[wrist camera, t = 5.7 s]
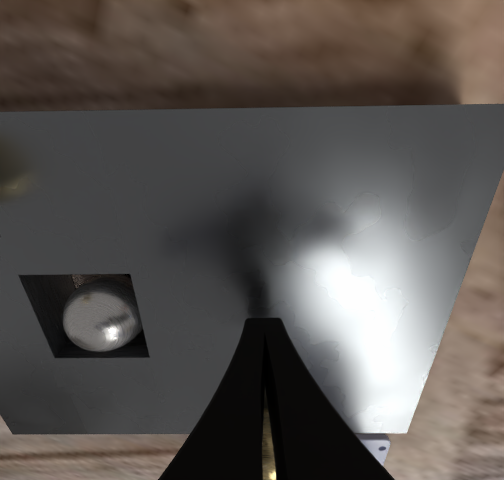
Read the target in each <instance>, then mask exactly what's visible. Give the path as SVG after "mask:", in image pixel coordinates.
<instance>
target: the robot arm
mask: <svg viewBox="0 0 504 480" xmlns="http://www.w3.org/2000/svg"><path fill="white" fill-rule="evenodd" d="M265 390H266V397H267V405H268V413H269V421H270V428H271V436H272V444H273V452H274V460H275V471H276V480H395V479H394V478H393V477H392V476H391V475H390V474H389V473H388V472H387V470H386V469H385V468H384V467H383V464H384V461H385V458H386V455H387V452H388V449H389V446H390V440H389V438H388V436H387V435H385V434H355V433H354V432H353V431H352V430H351V429H350V427H349V426H348V425H347V424H346V422H345V421H344V420H343V419H342V417H341V416H340V415H339V413H338V412H337V411H336V409H335V408H334V407H333V405H332V404H331V403H330V401H329V400H328V399H327V397H326V396H325V394H324V393H323V392H322V390H321V389H320V387H319V386H318V384H317V383H316V381H315V380H314V378H313V377H312V375H311V374H310V372H309V370H308V369H307V367H306V366H305V364H304V362H303V361H302V359H301V357H300V356H299V354H298V352H297V350H296V349H295V347H294V345H293V343H292V341H291V339H290V337H289V335H288V333H287V331H286V329H285V326H284V324H283V321H282V319H280V318H247V319H246V320H245V323H244V327H243V331H242V334H241V337H240V340H239V343H238V345H237V348H236V350H235V353H234V355H233V357H232V360H231V362H230V364H229V366H228V368H227V370H226V372H225V374H224V376H223V378H222V380H221V382H220V384H219V386H218V388H217V390H216V392H215V394H214V395H213V397H212V399H211V401H210V403H209V404H208V406H207V408H206V409H205V411H204V413H203V414H202V416H201V418H200V419H199V421H198V423H197V424H196V426H195V427H194V429H193V430H192V432H191V433H190V435H189V436H188V438H187V439H186V441H185V443H184V444H183V446H182V447H181V448H180V450H179V451H178V453H177V454H176V456H175V457H174V459H173V460H172V461H171V463H170V464H169V466H168V467H167V468H166V470H165V471H164V472H163V474H162V475H161V476H160V478H159V479H158V480H263V463H262V444H263V421H264V397H265Z"/></svg>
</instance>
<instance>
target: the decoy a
mask: <svg viewBox="0 0 504 480" xmlns="http://www.w3.org/2000/svg"><path fill="white" fill-rule="evenodd" d="M262 463H263V480H276V471H275V460H274V452H273V444H272V436H271V428H270V421H269V413H268V409H266V408H264V421H263V444H262Z"/></svg>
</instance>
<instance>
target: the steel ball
mask: <svg viewBox="0 0 504 480" xmlns="http://www.w3.org/2000/svg"><path fill="white" fill-rule="evenodd" d="M63 327H64V330H65V332H66V334H67V336H68V337H69V339H70V340H71V341H72V342H73V343H74V344H76V345H77V346H79V347H81V348H83V349H86V350H89V351H96V352H104V351H110V350H114V349H117V348H119V347H122V346H124V345H125V344H127V343H129V342H130V341H131V340H133V339H134V338H135V337H136V336H137V335H138V334H139V333H140V331H141V330H142V328H143V326H142V322H141V317H140V313H139V309H138V305H137V300H136V296H135V292H134V288H133V283H132V279H131V278H129V277H126V276H123V275H117V274H107V275H101V276H97V277H94V278H92V279H90V280H88V281H86V282H84V283H83V284H82V285H80V286H79V287H78V288H77V289H76V290H75V291H74V292H73V293H72V294H71V296H70V297H69V298H68V300H67V302H66V304H65V307H64V311H63Z"/></svg>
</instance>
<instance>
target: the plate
mask: <svg viewBox="0 0 504 480" xmlns="http://www.w3.org/2000/svg"><path fill="white" fill-rule="evenodd" d="M503 170H504V104H465V105H402V106H340V107H278V108H216V109H153V110H91V111H29V112H0V415H1V417H2V418H3V420H4V421H5V423H6V424H7V426H8V428H9V429H10V431H11V432H12V434H190V433H191V432H192V430H193V429H194V427H195V426H196V424H197V423H198V421H199V419H200V418H201V416H202V414H203V413H204V411H205V409H206V408H207V406H208V404H209V403H210V401H211V399H212V397H213V395H214V394H215V392H216V390H217V388H218V386H219V384H220V382H221V380H222V378H223V376H224V374H225V372H226V370H227V368H228V366H229V364H230V362H231V360H232V357H233V355H234V353H235V350H236V348H237V345H238V343H239V340H240V337H241V334H242V331H243V327H244V323H245V320H246V319H247V318H280V319H282V321H283V324H284V326H285V329H286V331H287V333H288V335H289V337H290V339H291V341H292V343H293V345H294V347H295V349H296V350H297V352H298V354H299V356H300V357H301V359H302V361H303V362H304V364H305V366H306V367H307V369H308V370H309V372H310V374H311V375H312V377H313V378H314V380H315V381H316V383H317V384H318V386H319V387H320V389H321V390H322V392H323V393H324V394H325V396H326V397H327V399H328V400H329V401H330V403H331V404H332V405H333V407H334V408H335V409H336V411H337V412H338V413H339V415H340V416H341V417H342V419H343V420H344V421H345V422H346V424H347V425H348V426H349V427H350V429H351V430H352V431H353V432H354V433H407V430H408V428H409V425H410V422H411V420H412V417H413V414H414V411H415V409H416V406H417V403H418V401H419V398H420V395H421V392H422V390H423V387H424V384H425V382H426V379H427V376H428V373H429V371H430V368H431V365H432V363H433V360H434V357H435V355H436V352H437V349H438V346H439V344H440V341H441V338H442V336H443V333H444V330H445V327H446V325H447V322H448V319H449V317H450V314H451V311H452V308H453V306H454V303H455V300H456V298H457V295H458V292H459V289H460V287H461V284H462V281H463V279H464V276H465V273H466V270H467V268H468V265H469V262H470V260H471V257H472V254H473V252H474V249H475V246H476V243H477V241H478V238H479V235H480V233H481V230H482V227H483V224H484V222H485V219H486V216H487V214H488V211H489V208H490V205H491V203H492V200H493V197H494V195H495V192H496V189H497V186H498V184H499V181H500V178H501V176H502V173H503ZM71 274H130V275H131V279H132V283H133V288H134V292H135V296H136V300H137V305H138V309H139V313H140V317H141V322H142V326H143V328H142V330H141V331H140V333H139V334H138V335H137V336H136V337H135V338H134V339H133V340H131V341H130V342H129V343H127V344H125V345H124V346H122V347H119V348H117V349H114V350H110V351H104V352H96V351H89V350H86V349H83V348H81V347H79V346H77V345H76V344H74V343H73V342H72V341H71V340H70V339H69V337H68V336H67V334H66V332H65V330H64V327H63V311H64V307H65V304H66V302H67V300H68V298H69V297H70V296H71V294H72V293H73V292H74V291H75V290H76V289H75V286H74V283H73V280H72V277H71ZM264 408H266V409H268V405H267V397H266V390H265V397H264Z"/></svg>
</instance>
